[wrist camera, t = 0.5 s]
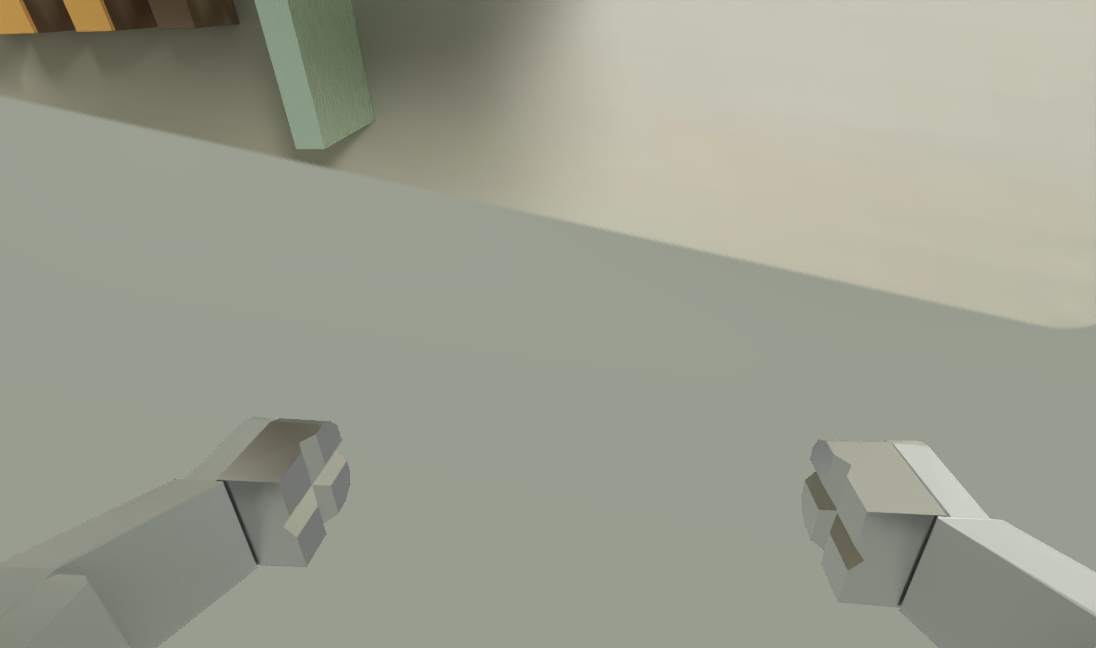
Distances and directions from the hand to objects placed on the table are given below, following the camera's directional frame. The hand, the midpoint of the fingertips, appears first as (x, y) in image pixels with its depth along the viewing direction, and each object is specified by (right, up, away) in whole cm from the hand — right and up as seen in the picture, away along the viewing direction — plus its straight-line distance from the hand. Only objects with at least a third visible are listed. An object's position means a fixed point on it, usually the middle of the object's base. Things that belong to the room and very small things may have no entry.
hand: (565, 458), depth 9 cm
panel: (-15, +24, +30) cm, 41 cm away
